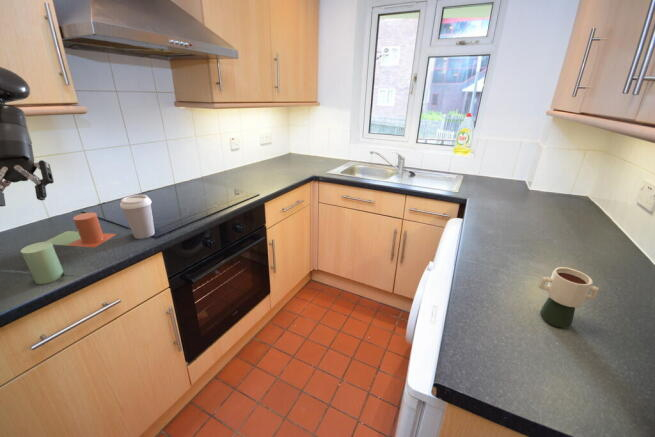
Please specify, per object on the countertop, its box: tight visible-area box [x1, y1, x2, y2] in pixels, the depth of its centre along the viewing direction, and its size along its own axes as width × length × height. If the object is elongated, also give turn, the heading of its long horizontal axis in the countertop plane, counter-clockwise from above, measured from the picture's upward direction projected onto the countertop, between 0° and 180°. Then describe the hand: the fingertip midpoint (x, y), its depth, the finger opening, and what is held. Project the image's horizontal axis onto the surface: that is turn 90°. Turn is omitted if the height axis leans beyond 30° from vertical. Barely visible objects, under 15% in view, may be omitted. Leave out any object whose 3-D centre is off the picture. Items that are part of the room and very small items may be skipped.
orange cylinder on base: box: [72, 212, 104, 244], centre depth 102 cm, size 6×6×9 cm
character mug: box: [538, 266, 600, 329], centre depth 69 cm, size 11×7×13 cm, turn 69°
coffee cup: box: [119, 194, 156, 240], centre depth 106 cm, size 10×10×15 cm
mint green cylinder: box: [20, 241, 65, 285], centre depth 83 cm, size 6×6×10 cm
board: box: [44, 230, 117, 248], centre depth 105 cm, size 10×20×1 cm, turn 84°
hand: (21, 202), depth 78 cm, fingers open, 8 cm apart
